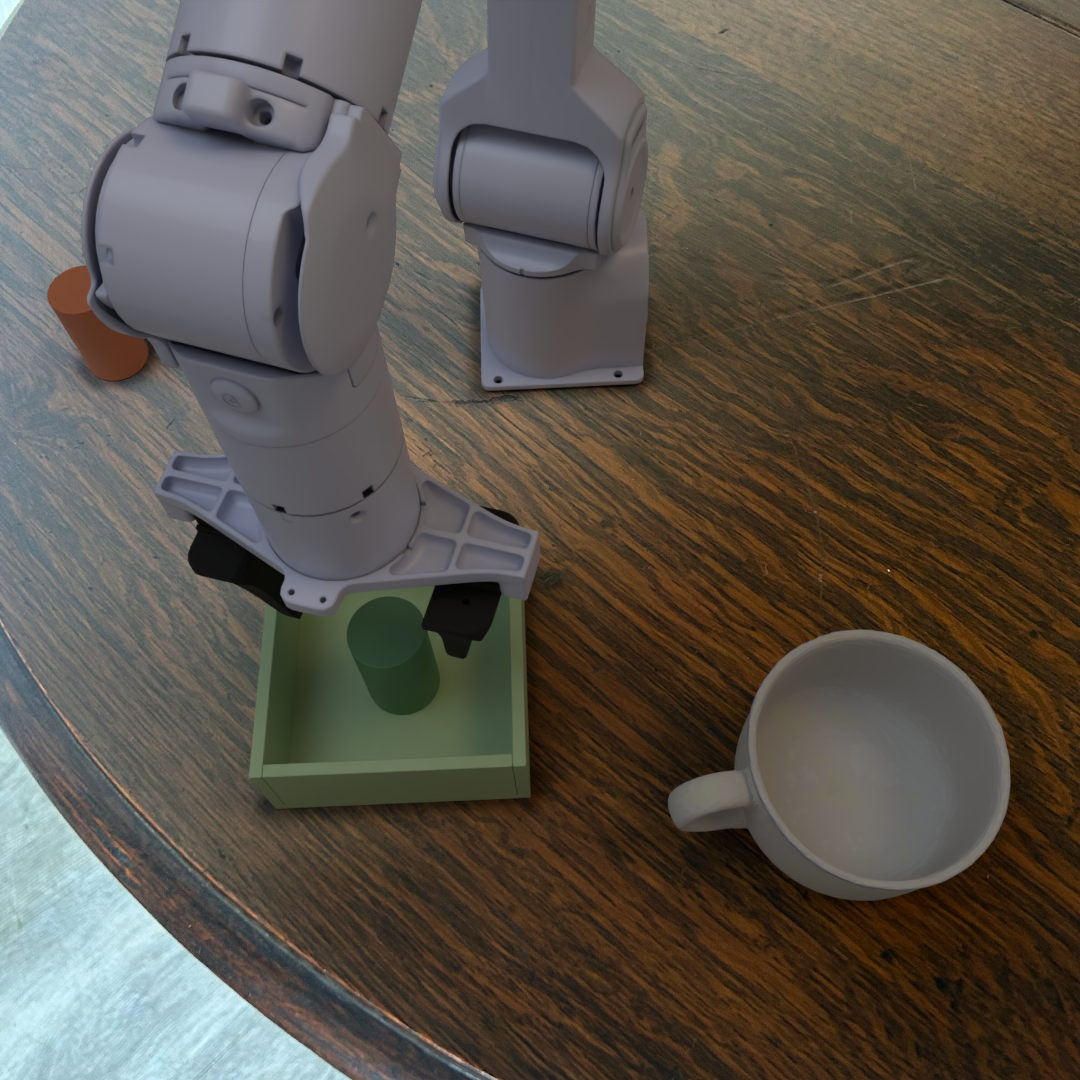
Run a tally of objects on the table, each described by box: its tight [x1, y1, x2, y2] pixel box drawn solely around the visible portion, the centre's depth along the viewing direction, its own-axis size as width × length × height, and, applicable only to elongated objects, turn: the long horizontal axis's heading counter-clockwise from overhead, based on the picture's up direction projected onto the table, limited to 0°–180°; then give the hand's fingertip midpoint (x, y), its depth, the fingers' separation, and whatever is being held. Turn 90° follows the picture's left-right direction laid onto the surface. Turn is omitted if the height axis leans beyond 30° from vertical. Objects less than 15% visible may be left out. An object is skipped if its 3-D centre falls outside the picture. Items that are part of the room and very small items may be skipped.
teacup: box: [667, 628, 1012, 902], centre depth 47 cm, size 14×11×8 cm
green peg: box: [346, 596, 440, 715], centre depth 51 cm, size 4×4×6 cm
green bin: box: [248, 585, 532, 810], centre depth 52 cm, size 12×12×5 cm
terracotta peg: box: [46, 264, 150, 382], centre depth 63 cm, size 4×4×6 cm
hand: (381, 617), depth 48 cm, fingers open, 7 cm apart
